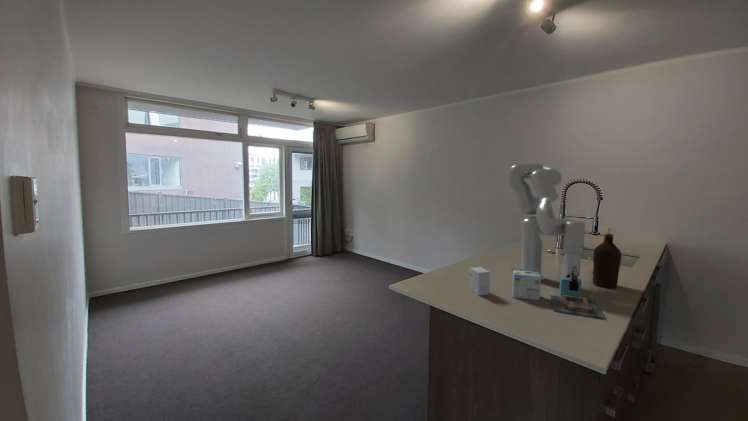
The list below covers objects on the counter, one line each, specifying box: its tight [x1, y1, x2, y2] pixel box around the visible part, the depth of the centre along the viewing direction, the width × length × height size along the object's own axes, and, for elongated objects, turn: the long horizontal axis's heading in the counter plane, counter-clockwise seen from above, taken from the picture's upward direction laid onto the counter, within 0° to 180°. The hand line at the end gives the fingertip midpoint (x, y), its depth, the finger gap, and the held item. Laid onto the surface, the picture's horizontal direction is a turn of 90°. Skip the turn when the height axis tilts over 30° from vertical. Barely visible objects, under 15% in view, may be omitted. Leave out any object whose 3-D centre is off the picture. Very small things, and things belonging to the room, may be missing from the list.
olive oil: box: [592, 233, 622, 290], centre depth 149 cm, size 11×11×25 cm
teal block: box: [558, 276, 583, 297], centre depth 139 cm, size 8×4×7 cm, turn 65°
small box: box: [468, 266, 491, 297], centre depth 141 cm, size 8×6×10 cm
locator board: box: [550, 293, 605, 320], centre depth 125 cm, size 16×16×4 cm
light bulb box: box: [511, 270, 542, 301], centre depth 136 cm, size 11×7×11 cm, turn 71°
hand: (571, 287), depth 138 cm, fingers open, 9 cm apart
